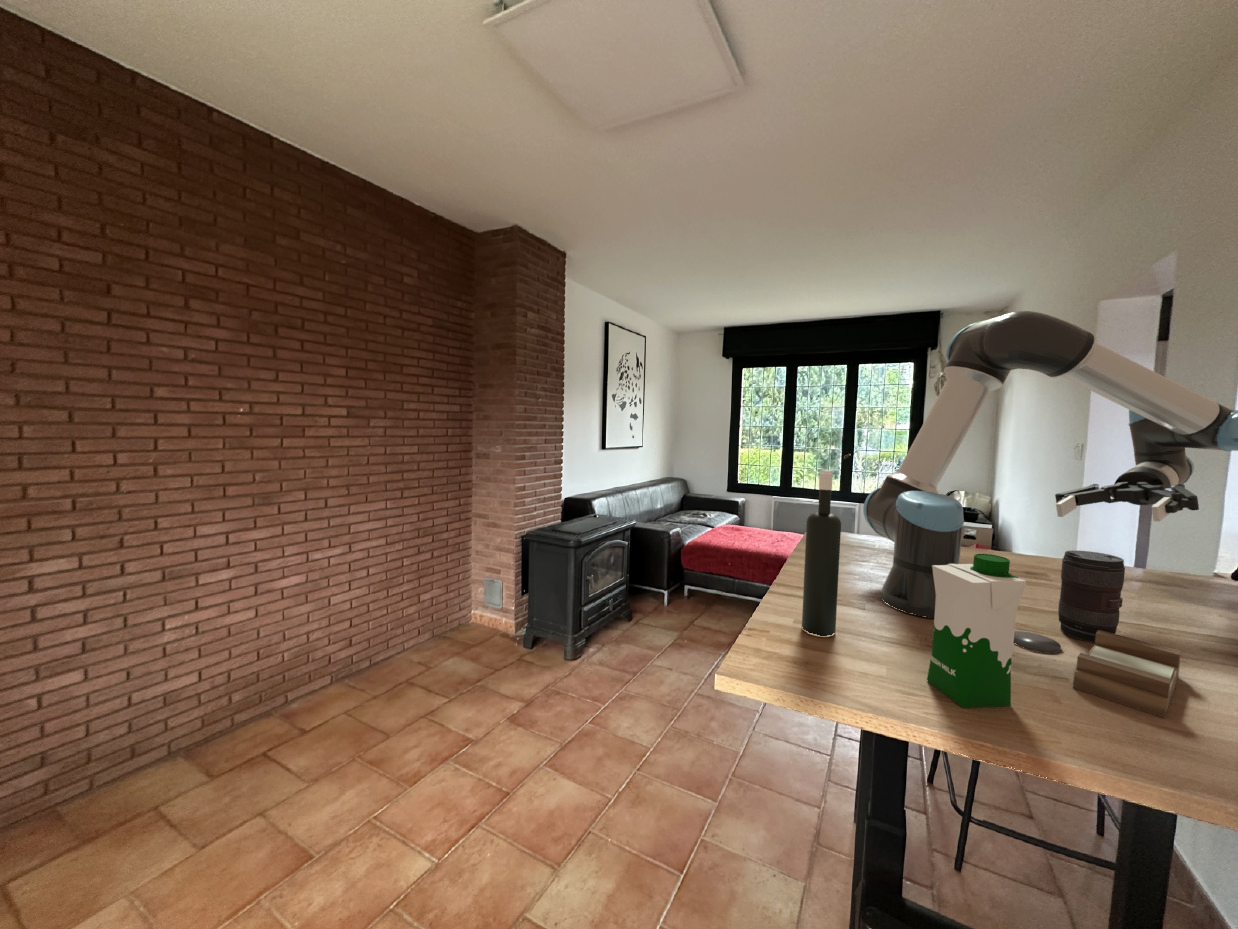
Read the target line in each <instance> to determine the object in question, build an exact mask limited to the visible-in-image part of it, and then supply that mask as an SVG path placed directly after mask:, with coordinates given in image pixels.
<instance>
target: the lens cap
mask: <svg viewBox="0 0 1238 929" xmlns="http://www.w3.org/2000/svg"><path fill="white" fill-rule="evenodd" d="M1014 643H1016V644H1017V645H1016V644H1015V645H1016V646H1018V645H1019V646H1018V647H1020V648H1023V647H1024V648H1023V649H1026V650H1030V651H1032V650H1033V652H1036V653H1037V652H1038V653H1042V654H1059V653H1060V652H1061V651H1060V650H1062V645H1061V644H1060V642H1058V641H1057V640H1056V639H1055V640H1054V639H1053V638H1050V637H1047V636H1045V635H1041V634H1038V633H1033V632H1029V631H1023V630H1022V631H1021V630H1016V631H1015V632H1014V642H1013V644H1014Z"/></svg>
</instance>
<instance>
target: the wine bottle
mask: <svg viewBox="0 0 1238 929" xmlns="http://www.w3.org/2000/svg"><path fill="white" fill-rule="evenodd" d="M833 475H834V470H828V469H827V470H826V469H823V470H822V469H821V470H819V478H818V479H819V480H818V481H819V482H818V490H819V491H818V493H819V494H818V510H817V512H813V513H810V514H809V515H808V517H807V518H806V524H805V525H806V527H805V529H806V531H805V545H804V546H805V551H804V567H803V568H804V573H803V574H804V575H803V596H802V597H803V598H802V615H801V616H802V617H801V619H802V620H801V628H802V627H803V629H804V630H806V631H808V632H809V633H813V634H817V635H820V636H827V635H832V634H833V633H835V634H836V626H837V625H836V624H837V611H838V610H837V607H838V592H839V590H838V588H839V571H840V570H839V569H840V552H841V535H842V534H841V533H842V522H841V519H840V518H839V517H838V516H837V515H836V514H834V513H831V501H832V490H833Z"/></svg>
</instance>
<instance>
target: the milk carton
mask: <svg viewBox="0 0 1238 929" xmlns="http://www.w3.org/2000/svg"><path fill="white" fill-rule="evenodd" d="M1010 563H1011V560H1010V559H1009V558H1007V557H1004V556H1000V555H996V554H991V553H990V554H989V553H977V554H976V553H975V554H974V555H973V563H959V564H948V565H932V569H933V576H934V584H935V592H936V603H935V617H934V619H933V633H932V647H931V655H930V660H929V661H930V662H929V667H928V672H927V677H926V680H928V683H930V684H931V685H933V686H934V687H935V688H937V689H938V690H939V691H941V692H942V693H943V694H944V695H945V696H947V697H948V698H950V699H951V700H952V701H953V702H954V703H957V704H958V705H959V706H960V707H961V708H963V709H968V708H970V709H971V708H987V707H1006V706H1007V707H1008V706H1012V689H1011V688H1012V675H1011V674H1012V664H1013V662H1012V661H1013V652H1014V651H1013V650H1014V643H1013V642H1014V632H1015V630H1016V620H1017V619H1016V618H1017V611H1018V608H1019V604H1020V602H1021V599H1022V596H1023V593H1024V590H1025V587H1026V584H1027V580H1025V579H1023V578H1019V577H1018V576H1016V575H1013V574H1012V573H1011V572H1010V565H1011V564H1010Z"/></svg>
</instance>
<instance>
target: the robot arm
mask: <svg viewBox="0 0 1238 929" xmlns="http://www.w3.org/2000/svg"><path fill="white" fill-rule="evenodd" d="M1096 340H1097V338H1096V336H1095V334H1093V333H1092V332H1089V331H1088V330H1085V328H1084V329H1083V328H1082V327H1079V326H1077V325H1075V324H1073V323H1071V322H1069V321H1066V320H1063V319H1061V318H1059V317H1056V316H1052V315H1049V314H1046V313H1042V312H1038V311H1031V310H1018V311H1012V312H1008V313H1005V314H1003V315H1000V316H997V317H993V318H988V319H985V320H980V321H977V322H974V323H971V324H969V325H967V326H966V327H964V328H963V329H961V330H959V331H958V332H956V333H955V335H953V337H952V338H951V339H950V341H949V343H948V344H947V348H946V352H945V353H946V354H945V357H946V358H947V364H946V365H945V367H944V368H943V373H944V375H945V377H946V381H945V382H944V385H943V387H942V388H941V390H940V392H939V394H938V396H937V398H936V400H935V401H934V403H933V405H932V406H931V409H930V411H929V412H928V414H927V416H926V418H925V420H924V421H923V424H922V426H921V428H920V429H919V431H918V433H917V434H916V437H915V438H914V440H913V442H912V444H911V446H910V448H909V449H908V451H907V453H906V455H905V457H904V458H903V460H902V463H901V464H900V467H899V468H898V470H897V471H896V472H894V473H891V474H888V475H886V477H885V479H884V481H883V483H882V485H881V486H880V487H878V488H875V489H874V490H873V491H871V492H870V493H869V494H868V495H867V497H866V499H865V501H864V502H863V503H864V504H863V516H864V519H865V522H866V523H867V524H868V526H869V527H870V528H871V529H872V530H873V531H874V532H875V533H876V534H878V535H879V536H881V537H884V538H886V539H888V540H890V541H891V542H893V543H894V544H893V545H894V546H893V558H892V559H893V561H892V567H890V571H889V573H888V575H887V577H886V579H885V581H884V583H883V585H882V589H881V600H882V599H883V600H884V602H886V603H888V604H889V605H890V606H893V607H895V608H897V609H900V610H903V611H905V612H907V613H906V614H908V613H913V614H916V615H919V616H918V617H920V616H926V617H929V618H928V619H933V618H934V617H935V603H936V592H935V584H934V576H933V569H932V565H948V564H960V562H961V550H962V539H963V538H962V536H963V526H964V523H965V519H964V518H965V517H964V507H963V505H962V503H961V502H960V501H959V500H957V499H956V498H954V497H952V496H949V495H946V494H943V493H941V494H940V493H939V491H938V489H937V488H938V486H939V484H940V482H941V480H942V479H943V476H944V475H945V473H946V471H947V469H948V467H949V465H950V464H951V462H952V461H953V458H954V457H955V456H956V453H957V452H958V450H959V448H960V446H961V445H962V442H963V441H964V439H965V437H966V435H967V433H968V431H969V429H970V428H971V426H972V424H973V423H974V421H975V419H976V417H977V415H978V414H979V412H980V411H981V408H982V406H983V405H984V403H985V400H986V399H987V397H989V394H990V392H993V391H995V390H997V389H998V390H999V389H1000V388H1002V387H1003V385H1004V383H1005V382H1006V379H1007V378H1008V376H1009V374H1010V372H1011V371H1013V370H1030V371H1035V372H1039V373H1041V374H1044V375H1046V376H1047V377H1049V378H1054V379H1055V378H1060V377H1062V378H1065V379H1067V380H1068V381H1070V382H1073V383H1075V384H1076V385H1079V386H1080V387H1083V388H1085V389H1087V390H1089V391H1091V392H1093V393H1095V394H1097V395H1099V396H1101V397H1103V398H1105V399H1107V400H1109V401H1111V402H1112V403H1115V404H1117V405H1119V406H1121V407H1124V408H1125V409H1127V410H1128V420H1129V422H1128V426H1129V430H1130V436H1131V440H1132V446H1133V447H1132V448H1133V456H1134V462H1135V465H1134V466H1132V468H1130V469H1128V470H1127V471H1125V472H1123V473H1122V474H1120V475H1119V476H1118V477H1117V479H1115V482H1114V483H1113V484H1111V485H1104V486H1101V487H1100V486H1099V484H1098V483H1093V484H1092V483H1091V484H1090V485H1087V486H1084V487H1079V488H1076V489H1071V490H1067V491H1063V492H1058V493H1055V494H1054V496H1055V506H1056V513H1057V517H1059V518H1064V517H1065V516H1066V515H1068V514H1070V513H1071V512H1072V511H1074V510H1076V509H1077V507H1078V506H1079V507H1080V506H1085V505H1093V504H1097V503H1107V504H1113V503H1118V502H1121V503H1126V502H1127V503H1129V504H1132V505H1135V506H1151V505H1152V506H1151V512H1152V513H1151V514H1152V519H1153V522H1161V521H1162V520H1164V519H1165V518H1166V517H1167V516H1169V514H1175V513H1177V512H1179V511H1183V510H1184V509H1186V508H1187V510H1189V511H1198V510H1200V506H1199V498H1198V496H1197V494H1194V493H1193V492H1191V491H1190V490H1188V489H1187V488H1186V487H1185V486H1186V485H1185V484H1186V483H1187V482H1188V481H1189V479H1190V478H1191V477H1192V475H1193V473H1194V470H1195V465H1194V462H1193V461H1192V459H1191V458H1190V457H1188V456H1187V454H1186V448H1188V449H1197V450H1198V449H1201V450H1213V451H1224V452H1234V451H1235V452H1238V410H1235V409H1231V408H1228V407H1226V406H1225V405H1222V404H1220V403H1218V402H1216V401H1214V400H1212V399H1210V398H1208V397H1206V396H1204V395H1202V394H1200V393H1197V392H1196V391H1194V390H1191V389H1190V388H1188V387H1186V386H1184V385H1182V384H1180V383H1178V382H1176V381H1174V380H1172V379H1170V378H1167V377H1165V376H1164V375H1162V374H1160V373H1158V372H1156V371H1154V370H1152V369H1149V368H1148V367H1146V366H1143V365H1141V364H1139V363H1137V362H1136V361H1134V360H1131V359H1129V357H1125V356H1124V355H1121V354H1119V353H1117V352H1115V351H1114V350H1112V349H1109V348H1107V347H1106V346H1103V345H1102V344H1099V343H1097V341H1096ZM883 600H882V601H883ZM884 602H883V603H884ZM886 603H885V604H886ZM889 605H888V606H889ZM890 606H889V607H890ZM897 609H896V610H897ZM905 612H904V613H905ZM916 615H915V616H916ZM926 617H925V618H926Z"/></svg>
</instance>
